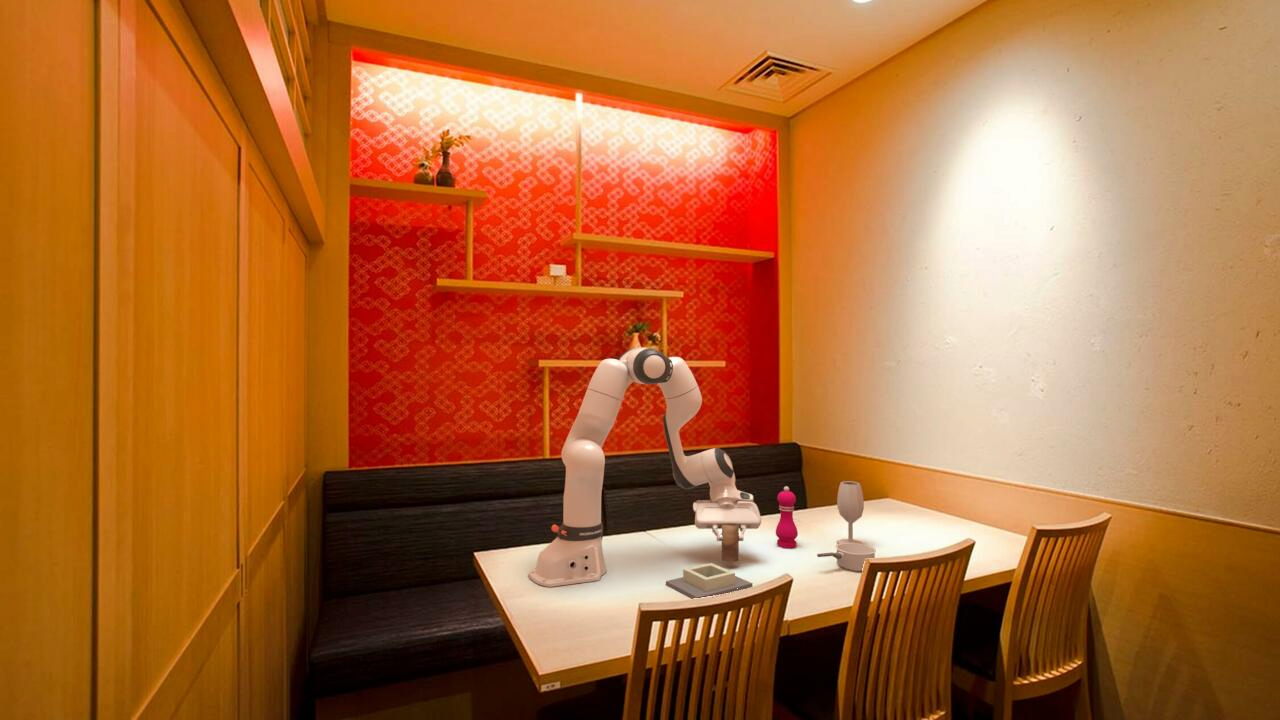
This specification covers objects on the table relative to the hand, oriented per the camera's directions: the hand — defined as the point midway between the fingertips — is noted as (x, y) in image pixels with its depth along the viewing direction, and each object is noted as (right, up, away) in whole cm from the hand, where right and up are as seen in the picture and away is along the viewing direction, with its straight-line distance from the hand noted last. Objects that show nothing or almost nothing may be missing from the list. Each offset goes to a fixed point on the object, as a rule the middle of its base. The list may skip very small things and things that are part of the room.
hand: (730, 540), depth 178 cm
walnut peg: (0, -6, 0) cm, 6 cm away
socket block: (-8, -8, -16) cm, 19 cm away
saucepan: (+34, -8, -1) cm, 35 cm away
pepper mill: (+22, -9, +22) cm, 32 cm away
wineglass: (+44, -9, +23) cm, 50 cm away
